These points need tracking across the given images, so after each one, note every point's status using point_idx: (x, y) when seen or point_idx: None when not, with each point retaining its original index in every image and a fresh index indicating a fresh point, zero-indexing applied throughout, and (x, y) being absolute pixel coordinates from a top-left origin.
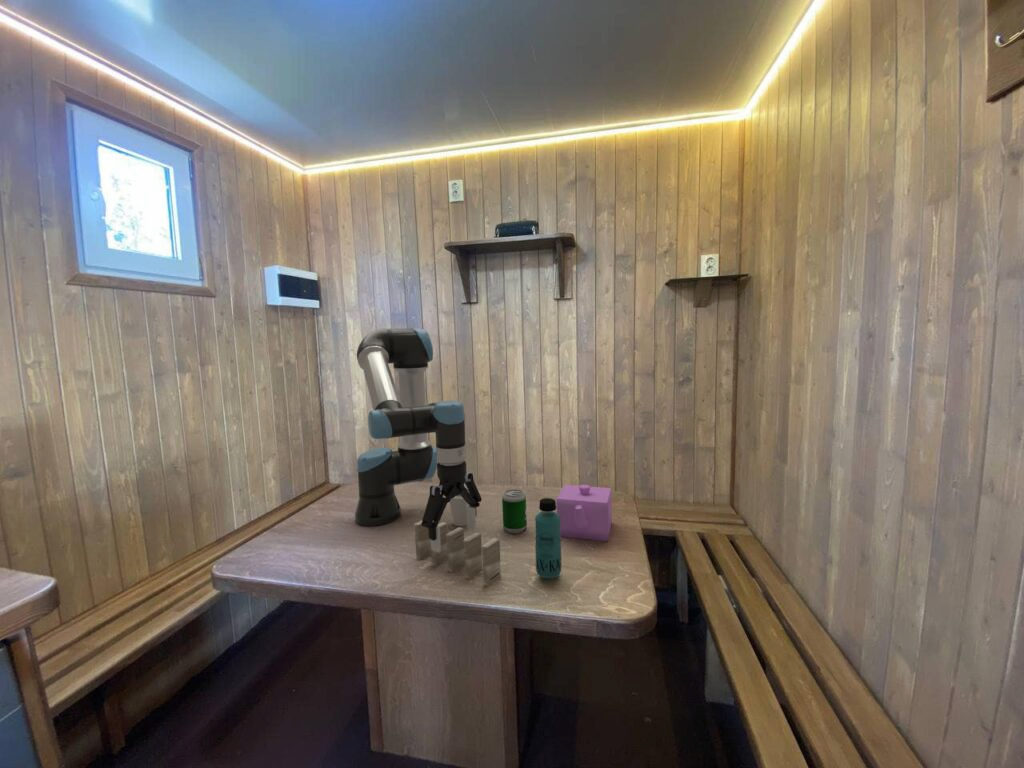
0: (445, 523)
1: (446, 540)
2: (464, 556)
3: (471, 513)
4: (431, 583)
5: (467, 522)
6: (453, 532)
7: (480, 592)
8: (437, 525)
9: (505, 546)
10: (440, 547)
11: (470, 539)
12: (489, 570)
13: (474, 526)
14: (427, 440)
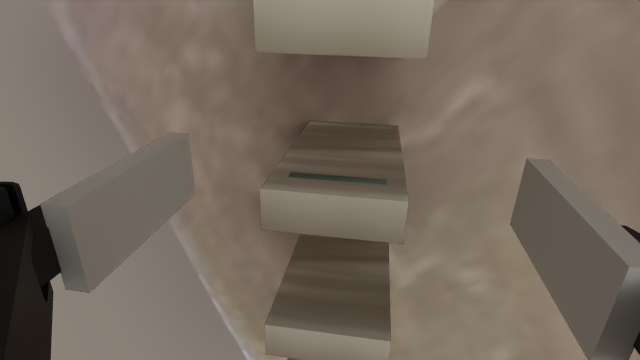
0: (418, 44)
1: (271, 173)
2: (289, 265)
3: (570, 287)
4: (207, 122)
5: (545, 185)
6: (310, 217)
7: (270, 299)
8: (345, 4)
9: (634, 225)
10: (181, 204)
11: (293, 353)
12: None
13: (523, 242)
14: None
